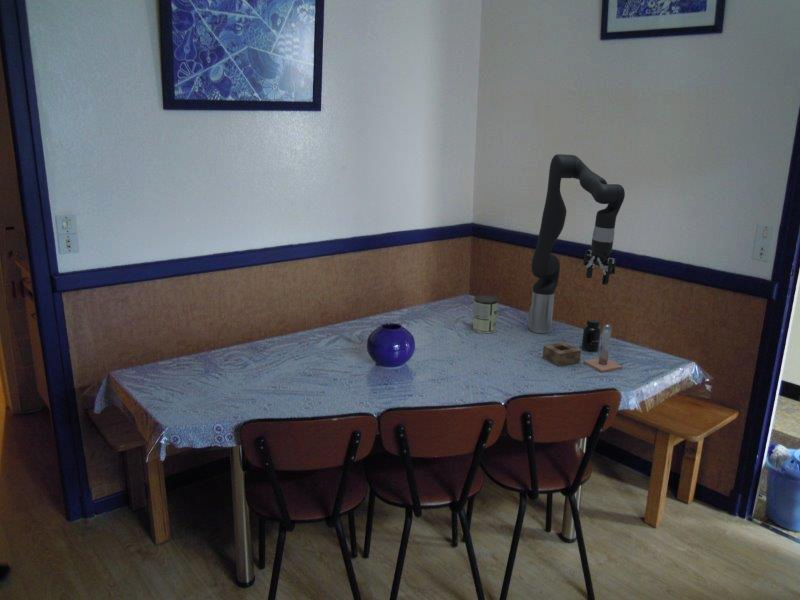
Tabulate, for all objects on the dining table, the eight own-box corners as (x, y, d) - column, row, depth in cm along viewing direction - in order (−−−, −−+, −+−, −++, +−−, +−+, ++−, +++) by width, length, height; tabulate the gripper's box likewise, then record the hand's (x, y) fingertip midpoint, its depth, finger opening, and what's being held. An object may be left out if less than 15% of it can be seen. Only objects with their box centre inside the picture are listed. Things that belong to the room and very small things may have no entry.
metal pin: (596, 362, 262) (601, 323, 257) (603, 361, 263) (607, 322, 258) (602, 365, 259) (607, 326, 254) (609, 364, 260) (613, 325, 256)
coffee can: (474, 324, 303) (476, 293, 299) (497, 326, 301) (499, 295, 297) (470, 332, 293) (472, 300, 289) (495, 334, 291) (497, 302, 287)
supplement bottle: (594, 353, 274) (598, 324, 270) (578, 349, 278) (581, 321, 274) (601, 348, 279) (604, 320, 275) (585, 344, 283) (588, 316, 279)
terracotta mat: (583, 363, 263) (583, 360, 263) (603, 359, 268) (603, 357, 267) (601, 372, 255) (602, 370, 254) (622, 368, 259) (622, 366, 259)
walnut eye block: (542, 357, 268) (543, 345, 266) (562, 353, 272) (563, 341, 271) (558, 366, 259) (560, 354, 258) (579, 362, 264) (581, 350, 262)
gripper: (581, 234, 257) (576, 276, 262) (608, 244, 245) (602, 287, 250) (597, 233, 260) (591, 275, 265) (624, 242, 248) (617, 285, 253)
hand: (596, 281), depth 258 cm, fingers open, 8 cm apart
